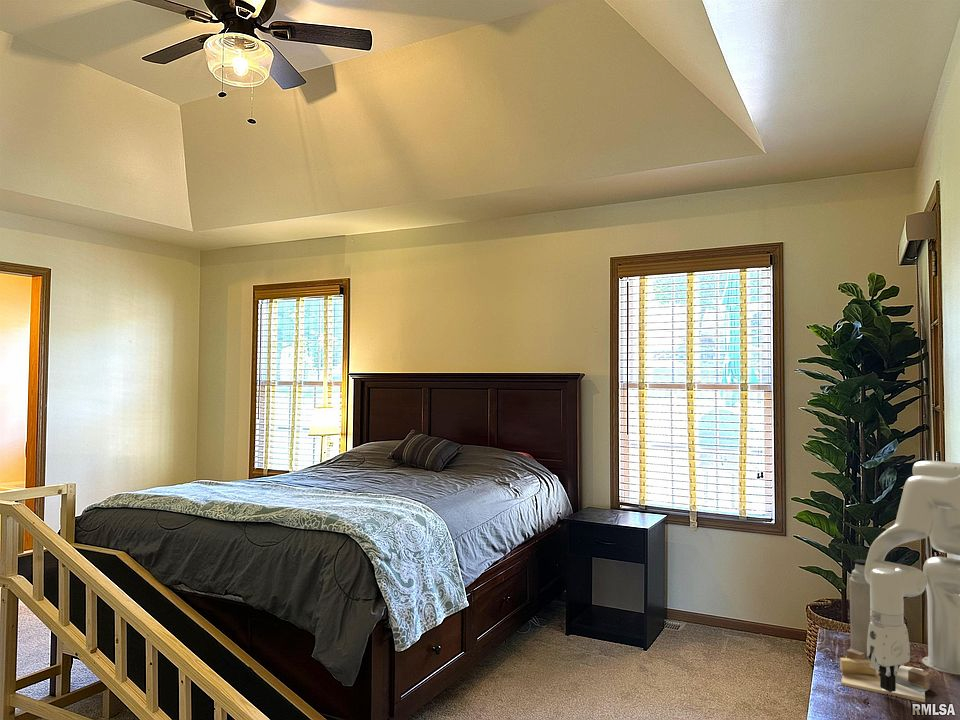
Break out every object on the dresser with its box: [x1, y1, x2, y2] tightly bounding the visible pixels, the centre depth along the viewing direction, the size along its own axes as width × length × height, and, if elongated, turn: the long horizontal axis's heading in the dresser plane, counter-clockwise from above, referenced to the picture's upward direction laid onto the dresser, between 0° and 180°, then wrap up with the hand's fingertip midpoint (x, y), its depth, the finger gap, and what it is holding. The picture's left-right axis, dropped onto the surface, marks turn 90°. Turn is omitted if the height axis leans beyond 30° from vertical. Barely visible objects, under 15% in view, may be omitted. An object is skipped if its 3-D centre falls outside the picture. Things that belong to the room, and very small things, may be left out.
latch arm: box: [839, 657, 876, 675], centre depth 192 cm, size 8×2×3 cm, turn 78°
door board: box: [840, 648, 931, 703], centre depth 191 cm, size 21×20×5 cm
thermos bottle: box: [848, 558, 871, 660], centre depth 208 cm, size 8×8×28 cm
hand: (887, 689), depth 180 cm, fingers closed
